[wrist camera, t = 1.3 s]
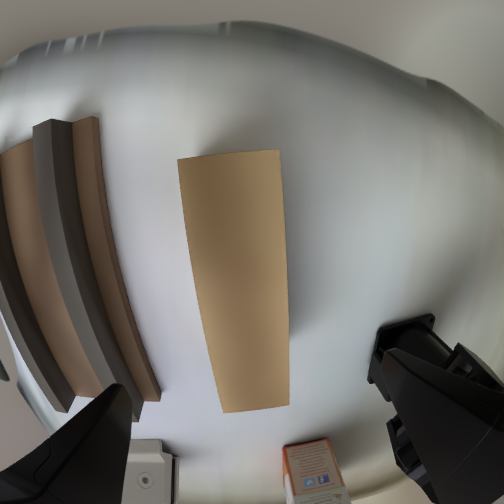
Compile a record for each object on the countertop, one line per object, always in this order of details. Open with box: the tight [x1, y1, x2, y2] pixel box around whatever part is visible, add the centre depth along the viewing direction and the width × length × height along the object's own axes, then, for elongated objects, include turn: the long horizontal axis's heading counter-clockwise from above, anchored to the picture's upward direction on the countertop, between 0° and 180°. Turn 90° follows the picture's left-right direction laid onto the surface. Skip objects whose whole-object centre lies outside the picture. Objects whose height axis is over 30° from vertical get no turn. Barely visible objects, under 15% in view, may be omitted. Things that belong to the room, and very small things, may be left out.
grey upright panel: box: [121, 439, 180, 504], centre depth 20 cm, size 17×5×10 cm, turn 104°
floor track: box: [0, 116, 162, 422], centre depth 15 cm, size 12×22×4 cm, turn 5°
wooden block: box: [177, 149, 289, 413], centre depth 15 cm, size 4×14×6 cm, turn 5°
